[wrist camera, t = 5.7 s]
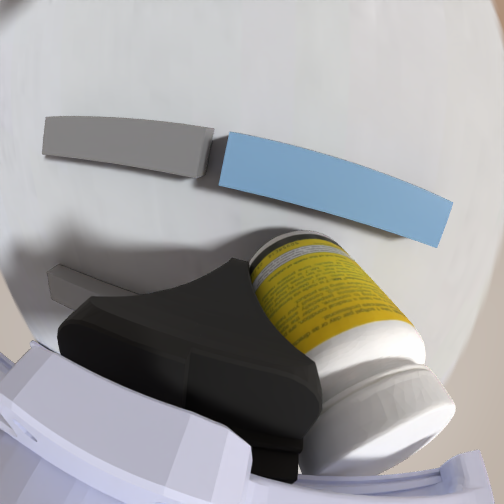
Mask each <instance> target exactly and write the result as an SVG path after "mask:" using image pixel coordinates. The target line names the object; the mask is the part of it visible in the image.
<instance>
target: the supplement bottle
mask: <svg viewBox="0 0 504 504" xmlns="http://www.w3.org/2000/svg"><path fill="white" fill-rule="evenodd" d="M249 265H250V266H249V273H250V278H251V282H252V285H253V288H254V291H255V294H256V296H257V299H258V301H259V303H260V305H261V307H262V309H263V311H264V312H265V314H266V316H267V317H268V319H269V320H270V321H271V322H272V324H273V325H274V326H275V327H276V329H277V330H278V331H279V332H280V333H281V334H282V335H283V336H284V337H285V338H286V339H287V340H288V341H289V342H290V343H291V344H292V345H293V346H294V347H296V348H297V349H298V350H300V351H301V352H302V353H303V354H305V355H306V356H307V357H309V358H310V359H312V360H313V361H314V362H315V363H316V367H317V370H318V375H319V379H320V383H321V388H322V398H323V403H322V411H321V413H320V416H319V418H318V419H317V420H316V422H315V423H314V424H313V426H312V427H311V428H310V430H309V431H308V432H307V434H306V435H305V436H304V437H303V450H302V452H301V453H300V454H299V461H298V464H299V467H300V469H301V472H302V474H303V475H318V476H376V475H378V474H380V473H382V472H384V471H386V470H388V469H390V468H392V467H394V466H395V465H397V464H399V463H401V462H402V461H404V460H406V459H407V458H409V457H410V456H411V455H413V454H415V453H416V452H417V451H419V450H420V449H421V448H423V447H424V446H425V445H427V444H428V443H429V442H430V441H431V440H432V439H434V438H435V437H436V436H437V435H438V434H439V433H440V432H441V431H442V430H443V429H444V428H445V426H446V425H447V424H448V423H449V422H450V420H451V419H452V417H453V415H454V413H455V404H454V402H453V400H452V398H451V397H450V395H449V394H448V392H447V391H446V390H445V388H444V387H443V385H442V384H441V382H440V381H439V379H438V377H437V375H436V374H435V373H433V372H432V371H431V369H430V368H429V367H428V366H425V365H424V363H425V346H424V342H423V340H422V338H421V336H420V334H419V333H418V331H417V330H416V328H415V327H414V326H413V324H412V323H411V322H410V321H409V320H408V319H407V317H406V316H405V315H404V314H403V313H402V312H401V311H400V310H399V309H398V307H397V306H396V305H395V304H394V303H393V302H392V301H391V300H390V299H389V298H388V296H387V295H386V294H385V293H384V292H383V291H382V290H381V289H380V288H379V287H378V286H377V284H376V283H375V282H374V281H373V280H372V279H371V278H370V277H369V276H368V275H367V274H366V273H365V272H364V271H363V269H362V268H361V267H360V266H359V265H358V264H357V263H356V262H355V261H354V260H353V259H352V258H351V257H350V256H349V255H348V253H347V252H346V251H344V249H343V248H342V247H341V246H339V245H338V244H337V243H336V242H335V241H334V240H333V239H331V238H330V237H328V236H326V235H324V234H322V233H319V232H315V231H308V230H301V231H292V232H288V233H285V234H282V235H280V236H278V237H276V238H274V239H272V240H270V241H269V242H268V243H266V244H265V245H264V246H263V247H261V248H260V249H259V250H258V251H257V252H256V254H255V255H254V256H253V257H252V259H251V260H250V262H249Z"/></svg>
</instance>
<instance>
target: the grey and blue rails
mask: <svg viewBox="0 0 504 504" xmlns="http://www.w3.org/2000/svg"><path fill="white" fill-rule="evenodd" d="M213 133H214V129H213V128H207V127H201V126H194V125H187V124H180V123H172V122H163V121H154V120H144V119H131V118H116V117H92V116H56V117H46V120H45V128H44V137H43V149H42V154H43V155H52V156H61V157H70V158H78V159H85V160H93V161H100V162H107V163H113V164H120V165H126V166H132V167H138V168H144V169H149V170H155V171H161V172H166V173H171V174H176V175H181V176H187V177H191V178H199V177H201V176H203V175H205V174H206V169H207V163H208V158H209V153H210V148H211V143H212V138H213ZM219 186H223V187H228V188H232V189H236V190H241V191H245V192H249V193H253V194H257V195H262V196H266V197H270V198H274V199H278V200H281V201H285V202H289V203H293V204H297V205H300V206H304V207H308V208H311V209H315V210H319V211H322V212H326V213H329V214H333V215H336V216H340V217H343V218H346V219H350V220H353V221H357V222H360V223H363V224H366V225H370V226H373V227H376V228H379V229H382V230H385V231H388V232H391V233H395V234H398V235H401V236H404V237H407V238H410V239H412V240H415V241H418V242H421V243H424V244H427V245H430V246H433V247H435V248H437V246H438V244H439V241H440V239H441V236H442V234H443V231H444V228H445V226H446V223H447V220H448V217H449V214H450V211H451V208H452V205H453V202H451V201H449V200H447V199H445V198H443V197H441V196H438V195H436V194H434V193H432V192H429V191H427V190H425V189H422V188H420V187H417V186H415V185H413V184H410V183H408V182H405V181H403V180H400V179H397V178H395V177H392V176H390V175H387V174H384V173H381V172H379V171H376V170H373V169H370V168H367V167H364V166H361V165H358V164H355V163H352V162H349V161H346V160H343V159H340V158H336V157H333V156H330V155H326V154H323V153H320V152H316V151H312V150H309V149H305V148H301V147H298V146H294V145H290V144H286V143H282V142H278V141H273V140H269V139H265V138H260V137H255V136H251V135H246V134H241V133H235V132H229V137H228V142H227V146H226V151H225V156H224V161H223V166H222V171H221V176H220V181H219ZM47 276H48V282H49V288H50V293H51V299H52V300H54V301H56V302H58V303H60V304H62V305H64V306H66V307H68V308H70V309H73V310H76V309H77V308H78V307H79V306H80V305H82V304H83V303H84V302H85V301H86V300H87V299H88V298H89V297H91V296H133V295H139V294H136V293H133V292H130V291H127V290H125V289H122V288H119V287H116V286H113V285H111V284H108V283H105V282H103V281H100V280H97V279H95V278H92V277H90V276H87V275H84V274H82V273H79V272H77V271H74V270H72V269H69V268H67V267H65V266H62V265H60V264H58V265H57V266H55V267H54V268H52V269H51V270H49V271H48V272H47Z"/></svg>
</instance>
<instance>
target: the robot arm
mask: <svg viewBox="0 0 504 504" xmlns="http://www.w3.org/2000/svg"><path fill="white" fill-rule="evenodd" d="M249 266H250V265H249V262H246V261H243V260H239V259H235V258H231V259H230V260H229V262H227V263H225V264H224V265H222V266H221V267H219V268H218V269H216V270H214V271H212V272H211V273H209V274H207V275H205V276H203V277H201V278H199V279H197V280H195V281H192V282H190V283H187V284H185V285H181V286H178V287H175V288H172V289H168V290H163V291H159V292H154V293H149V294H142V295H133V296H91V297H89V298H88V299H87V300H86V301H85V302H84V303H83V304H82V305H80V306H79V307H78V308H77V309H76V310H75V311H74V312H73V313H72V314H71V315H70V316H69V317H68V318H67V319H66V320H65V321H64V322H63V323H62V324H61V325H60V327H59V328H58V334H57V339H58V345H59V350H60V353H61V355H60V354H58V353H55V352H52V351H49V350H48V349H46V348H45V347H43V346H41V345H40V344H38V343H37V342H35V341H33V340H32V341H31V342H30V346H31V349H30V350H28V351H27V352H26V353H25V354H24V355H23V356H22V357H21V358H20V359H19V360H18V362H17V363H16V364H15V363H13V362H12V361H11V360H9V359H8V358H7V357H6V356H4V355H3V354H2V353H1V352H0V504H495V502H494V497H493V493H492V489H491V485H490V482H489V478H488V474H487V471H486V468H485V464H484V461H483V458H482V456H481V452H480V450H474V451H470V452H466V453H461V454H458V455H456V456H454V457H452V458H450V459H449V460H447V461H446V462H445V463H444V464H443V465H441V467H440V468H435V469H429V470H423V471H417V472H409V473H402V474H391V475H376V476H318V475H303V474H298V461H299V454H300V453H301V452H302V450H303V437H304V436H305V435H306V434H307V432H308V431H309V430H310V428H311V427H312V426H313V424H314V423H315V422H316V420H317V419H318V418H319V416H320V413H321V411H322V403H323V398H322V388H321V383H320V379H319V375H318V370H317V367H316V363H315V362H314V361H313V360H312V359H310V358H309V357H307V356H306V355H305V354H303V353H302V352H301V351H300V350H298V349H297V348H296V347H294V346H293V345H292V344H291V343H290V342H289V341H288V340H287V339H286V338H285V337H284V336H283V335H282V334H281V333H280V332H279V331H278V330H277V329H276V327H275V326H274V325H273V324H272V322H271V321H270V320H269V319H268V317H267V316H266V314H265V312H264V311H263V309H262V307H261V305H260V303H259V301H258V299H257V296H256V294H255V291H254V288H253V285H252V282H251V278H250V273H249Z"/></svg>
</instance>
